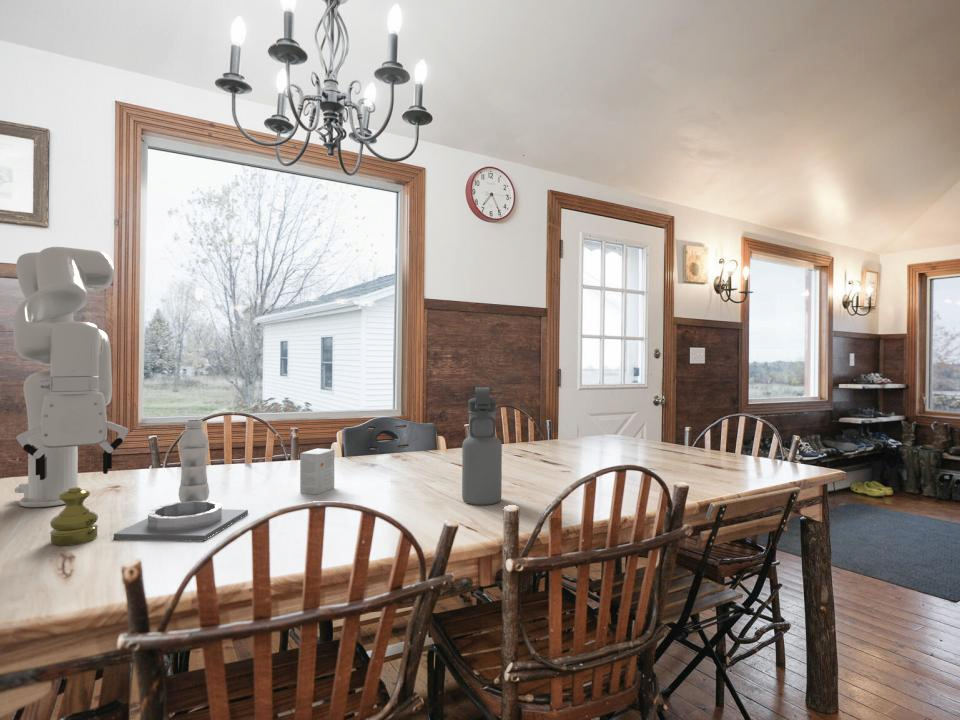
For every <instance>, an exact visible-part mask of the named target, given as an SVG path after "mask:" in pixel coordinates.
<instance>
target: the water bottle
mask: <svg viewBox="0 0 960 720" xmlns="http://www.w3.org/2000/svg"><path fill="white" fill-rule="evenodd" d="M474 391H475V397H473V398H470V399H469V400H468V401H467V404H468V405H467V413H468V436H467V437H466V438H465V439H463V441H462V448H461V449H462V450H461V451H462V453H461V456H462V458H461V459H462V460H461V462H462V463H461V464H462V465H461V475H462V477H461V497H462V501H464V503H466V504H468V505H469V504H470V505H474V506H475V505H476V506H490V505H495V504H497V503H499V502H500V501H501V500H502V493H503V492H502V489H503V487H502V484H503V483H502V477H503V476H502V473H503V472H502V471H503V470H502V468H503V467H502V464H503V462H502V460H503V459H502V457H503V455H502V454H503V453H502V451H503V449H502V448H503V445H502V441H501V440H500V438H498V437H497V435H496V413H497V400H496V399H495V398H492V397H490V396H491V394H490V392H491V391H490V386H475V387H474Z"/></svg>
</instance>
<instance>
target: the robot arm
mask: <svg viewBox="0 0 960 720" xmlns="http://www.w3.org/2000/svg"><path fill="white" fill-rule="evenodd" d="M16 276H17V281H18V284H19V287H20V289H21V291H22V294H23V296H24V298H25V299H24V300H23V301H22V302H21V303H20V304H19V305H18V307H17V309H16V310H15V312H14V315H13V321H12V322H13V323H12V324H13V325H12V326H13V327H12V329H13V343H14V344H13V345H14V349H15V351H16V354H18V356H19V357H21V358H22V359H23V360H24V359H25V360H28V361H34V362H35V364H37V365H41V366H50V367H49V369H50V370H44V371H38V372H34V373H32V374H30V375H28V376H27V377H26V379H25V380H24V382H23V396H24V402H25V406H26V414H27V429H28V430H26V431H24V432H22V433H19V434H18V435H16V437H15V438H16V440H17V442H18V443H19V445H20V446H21V447H22V449H23V451H24V452H26V453H28V454H27V455H28V456H27V457H28V458H27V460H28V461H27V462H28V463H27V465H28V466H27V469H28V470H27V471H28V473H27V478H28V479H27V482H28V483H20V484H18V486H16V487H15V488H14V492H15V494H22V493H23V497H22V498H20V499H19V505H20V506H21V507H25V508H47V507H53V506H54V507H55V506H61V505H66V504H65V502H64V501H62V500H60V499H59V498H58V497H59V495H60V494H61V493H63V492H65V491H68V490H69V489H70V488H75V487H79V486H78V485H79V483H78V477H79V476H78V472H79V471H78V469H79V466H78V461H79V458H78V454H79V452H78V451H79V449H78V447H84V446H85V447H86V446H95V445H98V446H99V447H101V448H102V449H103V451H104V452H102V453H103V454H102V473H103V474H104V475H105V474H106V475H108V473H109V470H111V469H112V468H113V452H114V451H115V450H116V449H117V448H118V447H119V446H120V445H121V444H123V442H124V441H125V439H126V437H127V435H129V434H128V433H129V428H127V427H125V426H123V425H120V424H117V423H114V422H112V421H109V420H107V419H108V418H107V417H108V415H107V406H108V405H109V404H110V403H111V401H112V397H113V379H112V377H113V374H112V373H113V372H112V352H111V351H112V347H111V343H110V342H111V341H110V337H109V336H108V334H107V333H106V332H105V331H104V330H101V329H99V328H98V326H97V325H96V324H94V323H92V322H89V321H88V322H87V321H75V320H74V318H75V317H74V313H75V312H78V311H80V310H81V309H82V308H84V307H85V305H86V304H87V302H88V292H101V291H103V290H106V289H108V288H109V287H110V286H111V285H112V283H113V281H114V276H115V267H114V264H113V261H112V259H111V257H110V256H109V255H108V254H106V253H105V252H102V251H99V250H92V249H85V248H83V249H82V248H73V247H67V246H65V247H64V246H51V247H46V248H43V249H42V250H40V251H39V252H38V251H37V252H35V251H34V252H27V253H26V252H25V253H23V254H21V255H19V257H18V258H17V260H16ZM108 429H109V430H111V431H114V432H117V433H118V435H117V437H116V439H114V440H113V441H112V442H111V443H110V442H109V441H108V440H107V436H108Z"/></svg>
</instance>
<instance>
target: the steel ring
mask: <svg viewBox="0 0 960 720" xmlns="http://www.w3.org/2000/svg"><path fill="white" fill-rule="evenodd" d="M222 509H223V508H222V503H221V502H218V501H214V500H206V501H186V502H181V501H177V502H172V503H169V504H164V505H159V506H157V507H155V508H153V509H150V510H148V514H147V519H148V528H150V529H153V530H156V531H180V530H189V529H196V528H200V527H204V526H207V525H211V524H214V523H215V522H217V521H219V520H221V519H222ZM193 513H199V514H195V515H188V516H179V517H172V516H177V515H184V514H193Z"/></svg>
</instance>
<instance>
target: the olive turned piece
mask: <svg viewBox="0 0 960 720" xmlns="http://www.w3.org/2000/svg"><path fill="white" fill-rule="evenodd" d="M90 495H91V491H90V490H87V489H85V488H84V489H82V488H81V487H79V486H78V487H75V488H70V489H69V490H68V491H65V492H63V493H61V494H60V495H59V497H58V498H59V499H60V500H62V501H64V502H65V504H64V505H65V507H64V508H63V510H61V511H60V512H59V514H57V515H56V516H54V517H53V518H52V519H51V520H50V522H49V523H50V527H51V528H52V531H50V533H49V534H50V544H51V545H53V546H56V547H66V546H67V547H68V546H77V545H82V544H84V543H85V544H86V543H88V542H91V541H92V540H95V539H96V538H97V537H98V528H99V526H98V525H97V524H96V523H97V521H98V519H99V515H98V513H96V512H95V511H93V510H90V509H89V508H87V506H86V505H85V504H84V501H85V500H86V499H87V498H89V496H90Z"/></svg>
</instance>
